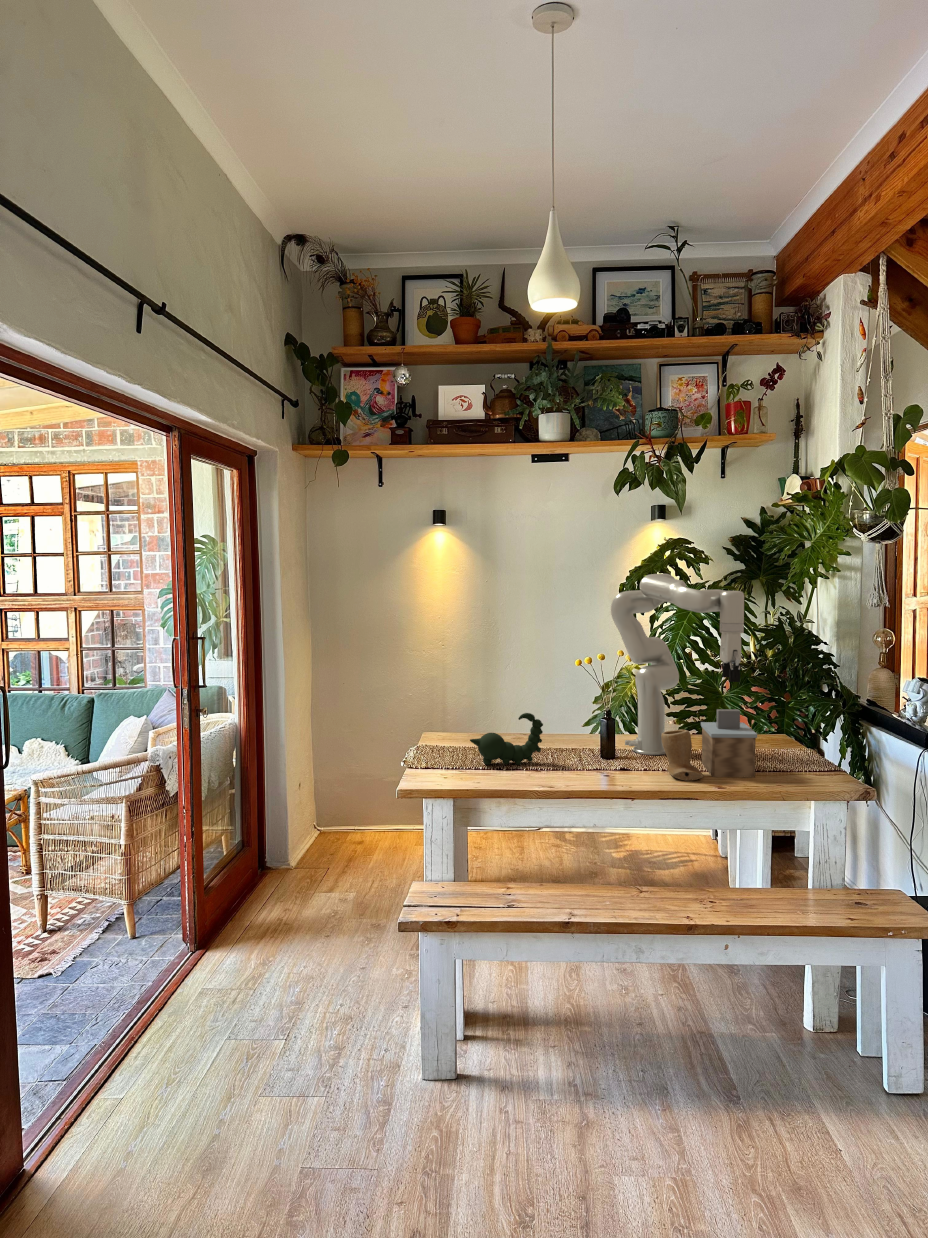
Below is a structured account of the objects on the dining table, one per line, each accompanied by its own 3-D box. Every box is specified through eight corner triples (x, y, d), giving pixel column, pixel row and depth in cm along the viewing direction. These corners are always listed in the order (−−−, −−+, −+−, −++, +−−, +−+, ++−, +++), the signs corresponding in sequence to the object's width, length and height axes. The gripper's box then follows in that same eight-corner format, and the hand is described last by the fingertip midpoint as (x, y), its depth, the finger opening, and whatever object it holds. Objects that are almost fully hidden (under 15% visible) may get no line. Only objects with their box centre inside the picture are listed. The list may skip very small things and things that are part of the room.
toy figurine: (536, 764, 302) (466, 760, 299) (540, 711, 300) (470, 707, 298) (541, 770, 292) (469, 767, 290) (546, 716, 291) (473, 712, 288)
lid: (711, 737, 274) (711, 715, 274) (700, 725, 293) (701, 705, 292) (757, 737, 273) (757, 715, 273) (743, 726, 291) (744, 705, 291)
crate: (711, 776, 276) (712, 737, 275) (701, 763, 293) (702, 726, 292) (754, 777, 275) (755, 737, 274) (742, 763, 292) (742, 726, 291)
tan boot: (658, 769, 285) (659, 725, 284) (695, 770, 284) (695, 726, 283) (665, 782, 270) (665, 735, 269) (703, 782, 269) (704, 736, 268)
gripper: (714, 625, 290) (713, 675, 291) (726, 630, 273) (725, 683, 274) (736, 625, 289) (736, 675, 291) (750, 630, 272) (749, 683, 273)
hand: (731, 679), depth 282 cm, fingers open, 9 cm apart
